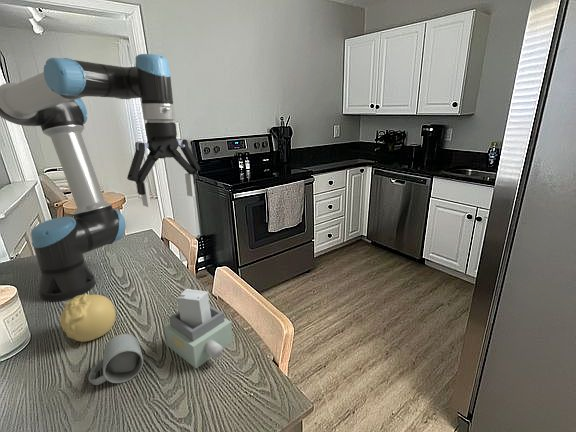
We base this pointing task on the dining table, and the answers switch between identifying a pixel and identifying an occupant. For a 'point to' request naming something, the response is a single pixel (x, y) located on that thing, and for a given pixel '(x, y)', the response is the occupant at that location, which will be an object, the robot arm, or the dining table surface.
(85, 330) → the sculpture
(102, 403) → the dining table surface
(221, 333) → the green open box
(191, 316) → the skincare box
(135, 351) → the ceramic mug
